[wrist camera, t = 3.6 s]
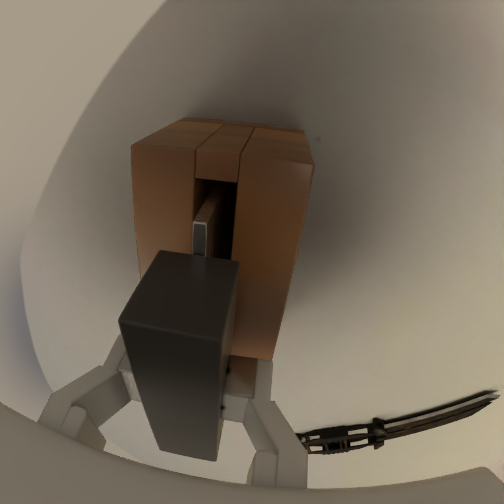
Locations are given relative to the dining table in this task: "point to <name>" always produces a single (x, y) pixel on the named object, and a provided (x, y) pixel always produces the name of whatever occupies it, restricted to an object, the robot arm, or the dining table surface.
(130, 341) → the metal bench scraper
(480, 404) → the knife
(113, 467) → the robot arm
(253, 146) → the knife block
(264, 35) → the dining table surface
